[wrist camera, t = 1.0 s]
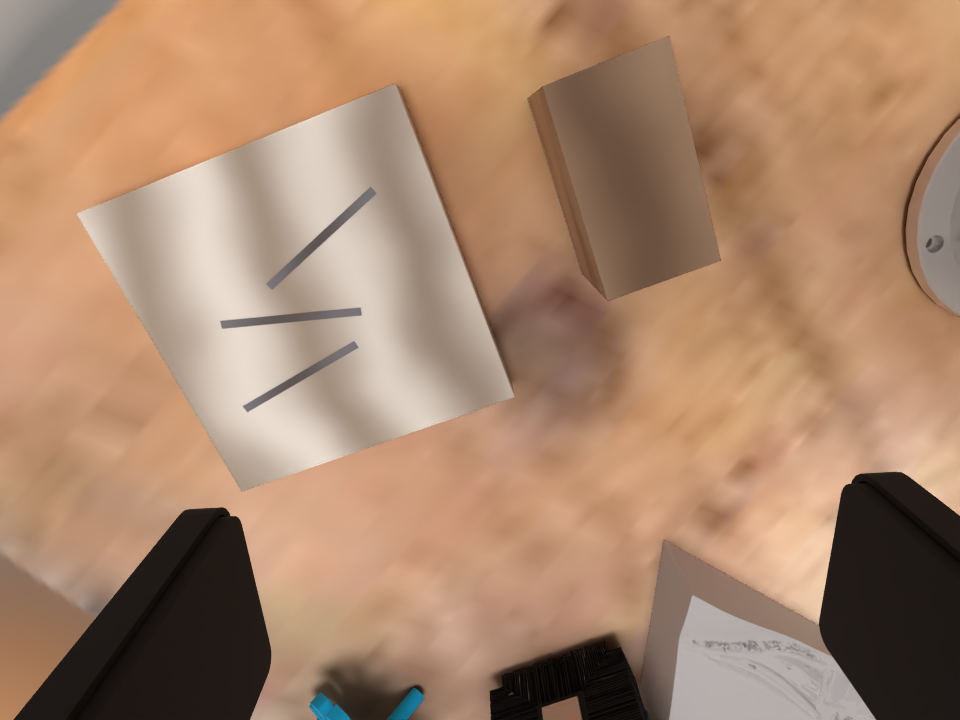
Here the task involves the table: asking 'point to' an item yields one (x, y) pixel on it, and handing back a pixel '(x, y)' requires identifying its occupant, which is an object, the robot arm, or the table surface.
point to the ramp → (735, 653)
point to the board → (307, 291)
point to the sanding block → (627, 170)
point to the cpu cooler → (571, 689)
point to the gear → (334, 716)
